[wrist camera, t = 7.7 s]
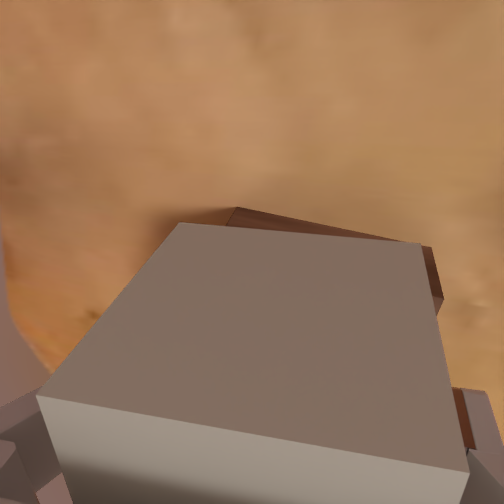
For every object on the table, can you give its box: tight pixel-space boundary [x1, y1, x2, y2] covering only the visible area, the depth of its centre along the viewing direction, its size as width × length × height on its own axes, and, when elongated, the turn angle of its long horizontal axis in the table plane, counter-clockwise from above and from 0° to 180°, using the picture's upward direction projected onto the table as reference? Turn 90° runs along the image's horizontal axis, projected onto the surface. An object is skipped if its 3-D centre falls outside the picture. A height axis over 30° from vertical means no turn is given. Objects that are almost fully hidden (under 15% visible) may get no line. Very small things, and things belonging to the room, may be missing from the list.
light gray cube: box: [36, 222, 470, 504], centre depth 10 cm, size 6×6×6 cm
